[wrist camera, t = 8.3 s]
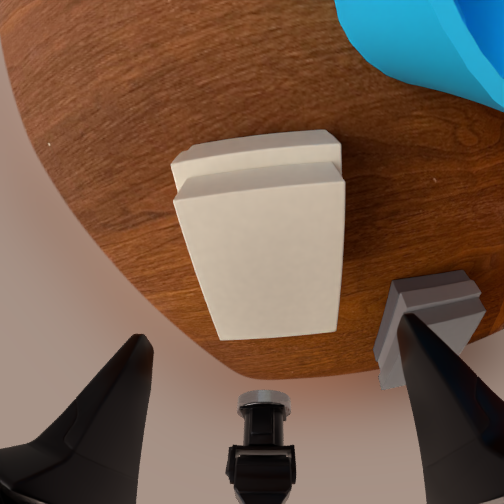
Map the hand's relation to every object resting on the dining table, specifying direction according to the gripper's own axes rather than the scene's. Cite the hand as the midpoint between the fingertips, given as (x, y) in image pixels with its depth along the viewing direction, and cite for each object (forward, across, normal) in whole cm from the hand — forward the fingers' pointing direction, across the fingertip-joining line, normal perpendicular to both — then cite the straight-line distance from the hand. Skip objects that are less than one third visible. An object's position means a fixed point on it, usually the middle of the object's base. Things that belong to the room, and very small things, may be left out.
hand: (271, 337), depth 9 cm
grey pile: (+9, -12, +11) cm, 19 cm away
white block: (+5, 0, 0) cm, 5 cm away
